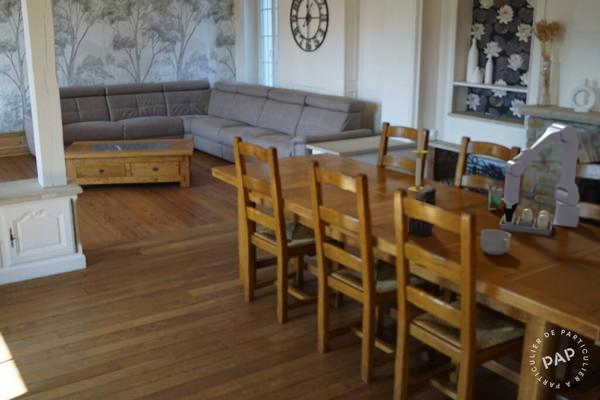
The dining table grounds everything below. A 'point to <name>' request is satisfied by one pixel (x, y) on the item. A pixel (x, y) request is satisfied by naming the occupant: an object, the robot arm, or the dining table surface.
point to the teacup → (495, 241)
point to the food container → (494, 197)
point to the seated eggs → (542, 218)
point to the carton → (526, 227)
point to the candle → (418, 160)
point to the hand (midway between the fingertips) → (509, 220)
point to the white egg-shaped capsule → (509, 222)
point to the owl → (420, 226)
